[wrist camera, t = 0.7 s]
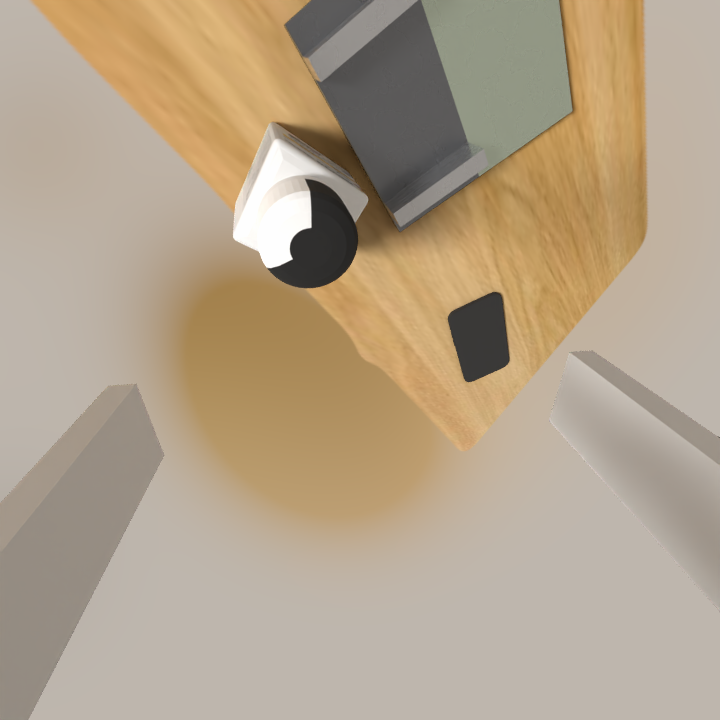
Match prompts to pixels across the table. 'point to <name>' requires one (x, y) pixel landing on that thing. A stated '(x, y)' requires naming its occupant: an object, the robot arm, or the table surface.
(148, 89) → the table surface
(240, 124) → the table surface
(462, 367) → the phone
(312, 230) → the container
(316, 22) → the board
